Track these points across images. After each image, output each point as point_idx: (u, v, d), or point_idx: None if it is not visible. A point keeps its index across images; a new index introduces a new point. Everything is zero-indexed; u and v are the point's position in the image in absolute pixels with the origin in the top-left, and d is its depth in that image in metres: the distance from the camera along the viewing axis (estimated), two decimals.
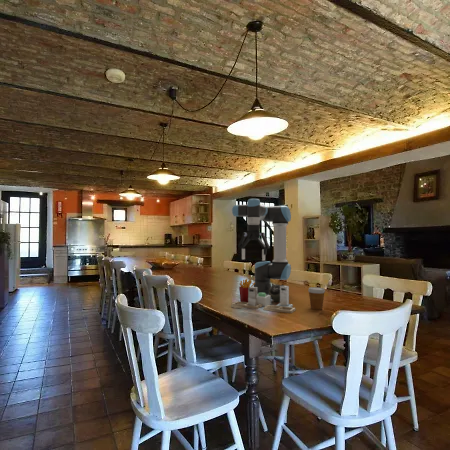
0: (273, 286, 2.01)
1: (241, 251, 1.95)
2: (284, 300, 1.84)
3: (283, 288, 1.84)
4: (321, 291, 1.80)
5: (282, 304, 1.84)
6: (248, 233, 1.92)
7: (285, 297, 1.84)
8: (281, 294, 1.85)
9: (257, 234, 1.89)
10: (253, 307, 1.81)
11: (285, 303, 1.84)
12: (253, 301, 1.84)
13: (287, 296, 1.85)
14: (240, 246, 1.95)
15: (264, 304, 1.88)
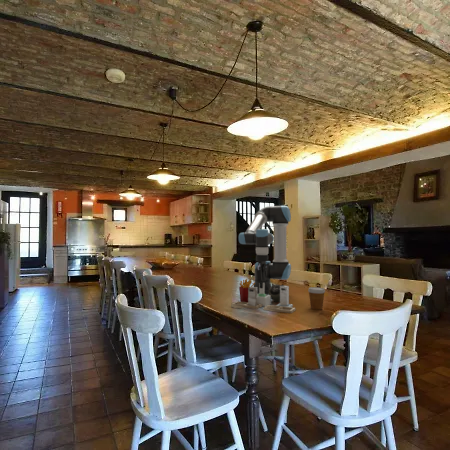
0: (273, 286, 2.01)
1: None
2: (284, 300, 1.84)
3: (283, 288, 1.84)
4: (321, 291, 1.80)
5: (282, 304, 1.84)
6: None
7: (285, 297, 1.84)
8: (281, 294, 1.85)
9: None
10: (253, 307, 1.81)
11: (285, 303, 1.84)
12: (253, 301, 1.84)
13: (287, 296, 1.85)
14: None
15: (264, 304, 1.88)
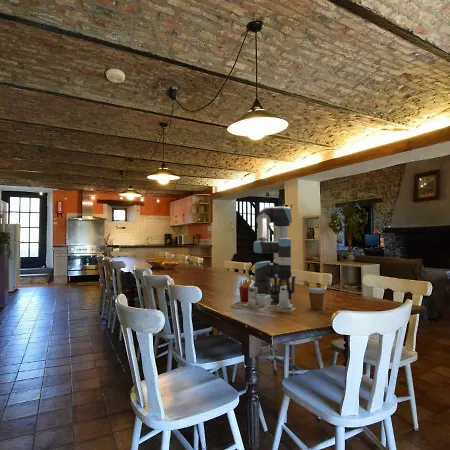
0: (273, 286, 2.01)
1: (278, 295, 1.87)
2: (284, 300, 1.84)
3: (283, 288, 1.84)
4: (321, 291, 1.80)
5: (282, 304, 1.84)
6: (278, 273, 1.87)
7: (285, 297, 1.84)
8: (281, 294, 1.85)
9: (288, 275, 1.84)
10: (253, 307, 1.81)
11: (285, 303, 1.84)
12: (253, 301, 1.84)
13: None
14: (277, 290, 1.88)
15: (264, 304, 1.88)
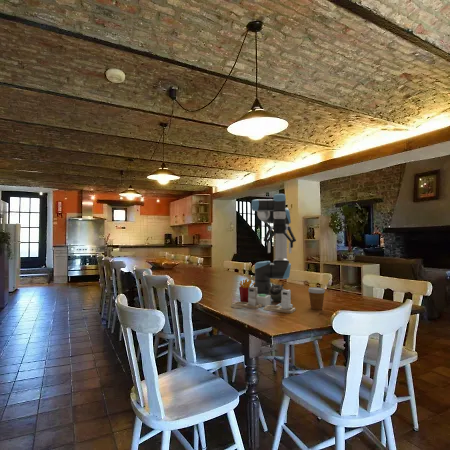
0: (273, 286, 2.01)
1: (267, 244, 2.01)
2: (286, 305, 1.74)
3: (285, 292, 1.75)
4: (321, 291, 1.80)
5: (284, 309, 1.75)
6: (274, 227, 1.99)
7: (287, 302, 1.74)
8: (283, 299, 1.75)
9: (283, 228, 1.96)
10: (253, 307, 1.81)
11: (287, 308, 1.74)
12: (253, 301, 1.84)
13: (289, 301, 1.75)
14: (266, 240, 2.02)
15: (264, 304, 1.88)
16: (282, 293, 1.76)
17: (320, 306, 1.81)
